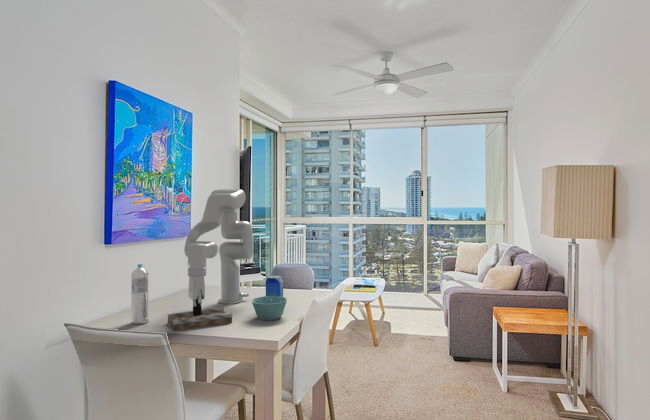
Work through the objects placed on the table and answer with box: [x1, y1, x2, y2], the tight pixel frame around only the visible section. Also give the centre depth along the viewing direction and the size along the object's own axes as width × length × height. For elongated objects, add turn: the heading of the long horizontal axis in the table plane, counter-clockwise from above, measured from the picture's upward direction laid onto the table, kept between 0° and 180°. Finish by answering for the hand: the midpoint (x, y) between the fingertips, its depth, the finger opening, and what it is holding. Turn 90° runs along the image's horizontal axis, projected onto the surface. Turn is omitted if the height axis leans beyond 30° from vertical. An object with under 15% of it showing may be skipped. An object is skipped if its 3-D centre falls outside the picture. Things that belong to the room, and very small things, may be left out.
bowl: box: [251, 295, 288, 321], centre depth 187 cm, size 16×16×8 cm
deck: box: [167, 306, 233, 332], centre depth 179 cm, size 24×13×4 cm, turn 120°
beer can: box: [265, 275, 284, 297], centre depth 203 cm, size 8×8×16 cm
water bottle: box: [130, 263, 150, 325], centre depth 180 cm, size 7×7×25 cm
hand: (197, 315), depth 178 cm, fingers closed
